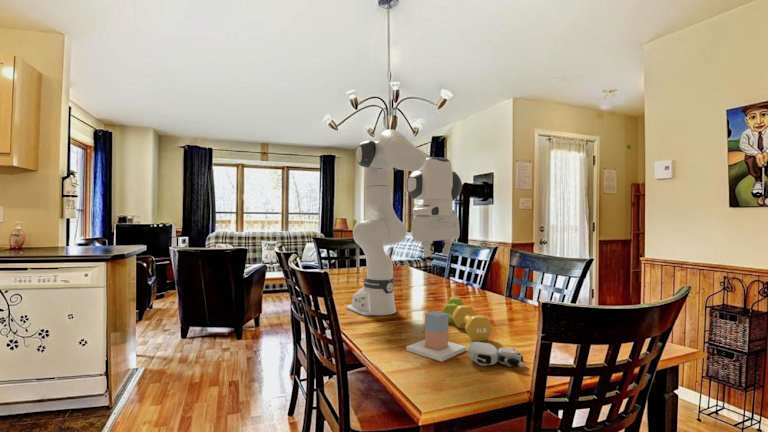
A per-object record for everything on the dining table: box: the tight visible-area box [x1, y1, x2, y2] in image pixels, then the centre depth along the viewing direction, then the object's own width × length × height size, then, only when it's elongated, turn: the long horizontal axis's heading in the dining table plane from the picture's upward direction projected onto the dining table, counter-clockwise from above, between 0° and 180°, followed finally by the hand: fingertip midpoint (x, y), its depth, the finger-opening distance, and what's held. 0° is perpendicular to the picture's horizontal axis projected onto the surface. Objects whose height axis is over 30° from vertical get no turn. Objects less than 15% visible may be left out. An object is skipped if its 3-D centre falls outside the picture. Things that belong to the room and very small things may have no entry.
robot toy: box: [467, 340, 526, 368], centre depth 110 cm, size 12×4×15 cm
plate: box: [405, 339, 467, 363], centre depth 120 cm, size 13×13×1 cm
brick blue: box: [424, 310, 449, 334], centre depth 120 cm, size 5×5×5 cm
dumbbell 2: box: [452, 304, 493, 343], centre depth 137 cm, size 19×9×8 cm, turn 7°
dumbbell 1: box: [441, 296, 465, 325], centre depth 157 cm, size 16×8×7 cm, turn 163°
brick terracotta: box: [424, 329, 449, 350], centre depth 120 cm, size 5×5×5 cm
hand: (437, 255), depth 120 cm, fingers open, 8 cm apart
